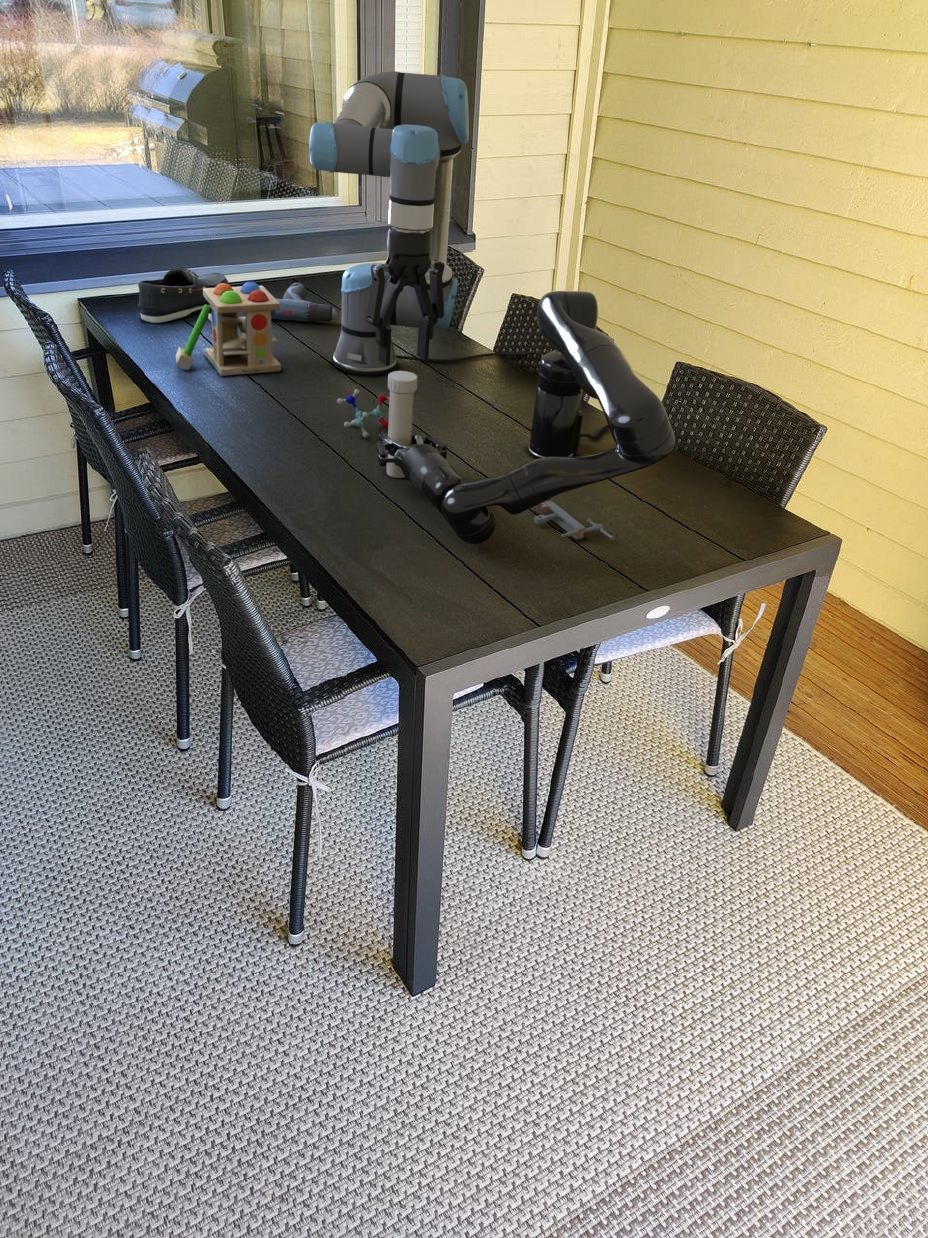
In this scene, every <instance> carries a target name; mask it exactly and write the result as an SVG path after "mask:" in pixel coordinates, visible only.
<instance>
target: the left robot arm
mask: <svg viewBox="0 0 928 1238" xmlns="http://www.w3.org/2000/svg"><path fill="white" fill-rule="evenodd" d="M337 115H338V116H337V117H336V119H335V120H334V121H333V122H330V121H325V122H315V123H313V124H312V126H311V129H310V133H309V161H310V164H311V166H312V168H313V169H315V170H319V171H324V172H328V173H331V174H334V173H339V174H352V175H362V176H373V177H382V178H389V197H388V221H387V224H388V225H389V228H388V229H387V239H386V240H387V241H386V249H387V256H386V257H387V258H386V260H385V262H384V263H382V262H368V263H360V264H356V265H352V266H351V267H348V268H346V270H345V271H344V272H343V274H342V281H341V287H340V292H341V319H340V321H341V324H340V325H341V326H340V329H341V330H340V336H339V338H338V341H337V344H336V348H335V350H334V352H333V354H332V355H333V361H332V362H333V363H332V364H333V366H334V367H335V368H337V369H338V370H339V371H342V372H344V373H347V374H352V375H356V376H380V375H381V376H382V375H386V374H389V373H391V372H394V371H395V369H396V368H397V361H398V360H399V359H401V360H412V361H416V362H427V363H454V362H455V363H456V362H462V361H467V360H471V359H479V358H485V357H496V356H497V357H499V356H501V357H502V356H503V357H504V356H506V357H508V356H509V357H523V356H529V355H536V354H535V353H528V352H529V351H525V352H489V353H480V354H474V355H473V354H471V355H467V356H462V357H456V358H429V352H430V341H432V340H433V338H434V330H446V329H447V328H448V327H449V326H450V325H451V320H452V316H453V312H454V307H455V303H456V297H457V292H458V285H459V281H458V280H457V279H456V278H455V277H453V270H452V268H451V267H450V266H448V264H447V258H448V241H449V228H450V213H451V212H450V211H451V195H452V181H453V180H452V179H453V164H454V158H455V157H457V155H459V154H460V153H461V151H462V145H465V144H467V143H468V142H469V139H470V138H469V136H470V125H469V123H470V116H469V115H470V114H469V95H468V88H467V85H466V83H465V82H464V80H463V79H461V78H457V77H450V76H446V75H444V74H442V75H439V74H428V73H427V74H426V73H425V74H424V73H414V72H401V71H395V70H393V71H392V70H389V71H383V72H382V71H380V72H377V73H374V74H370V75H368V76H366V77H363V78H361V79H359V80H358V81H356V82H355V83H353V84H352V85H351V86H350V87H349V88H348V89H347V90H346V93H344V96H343V99H342V102H341V111H340V112H339V114H337ZM391 326H396V327H404V328H405V327H407V328H417V329H418V330H417V345H416V346H417V347H416V356H417V357H414V356H409V355H399V354H396V352H395V347H394V343H393V341H392V328H391Z"/></svg>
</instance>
